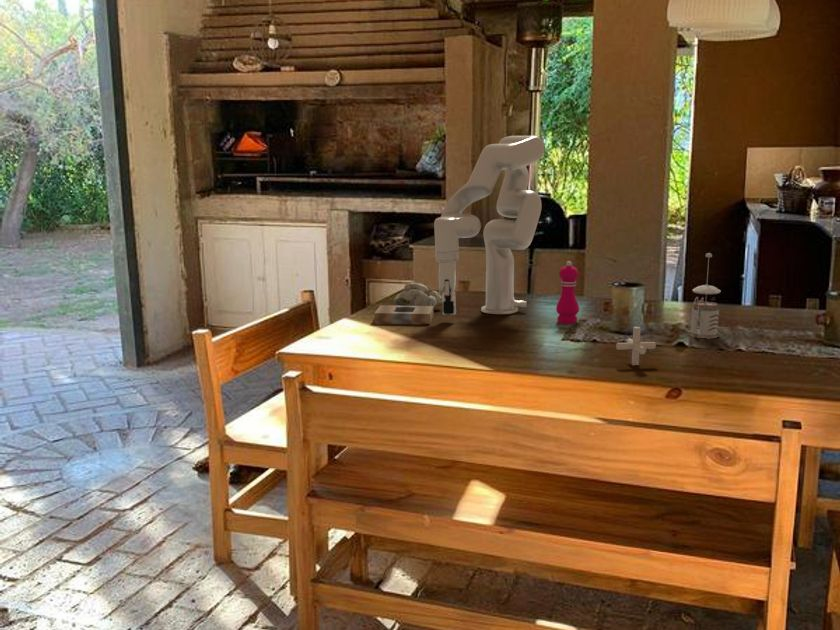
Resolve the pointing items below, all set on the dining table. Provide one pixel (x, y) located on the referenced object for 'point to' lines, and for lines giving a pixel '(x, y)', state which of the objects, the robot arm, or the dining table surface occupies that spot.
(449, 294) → the white glossy cylinder
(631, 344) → the pipe connector
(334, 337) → the dining table surface
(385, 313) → the frame
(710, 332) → the french press
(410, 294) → the mineral
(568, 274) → the pepper mill
